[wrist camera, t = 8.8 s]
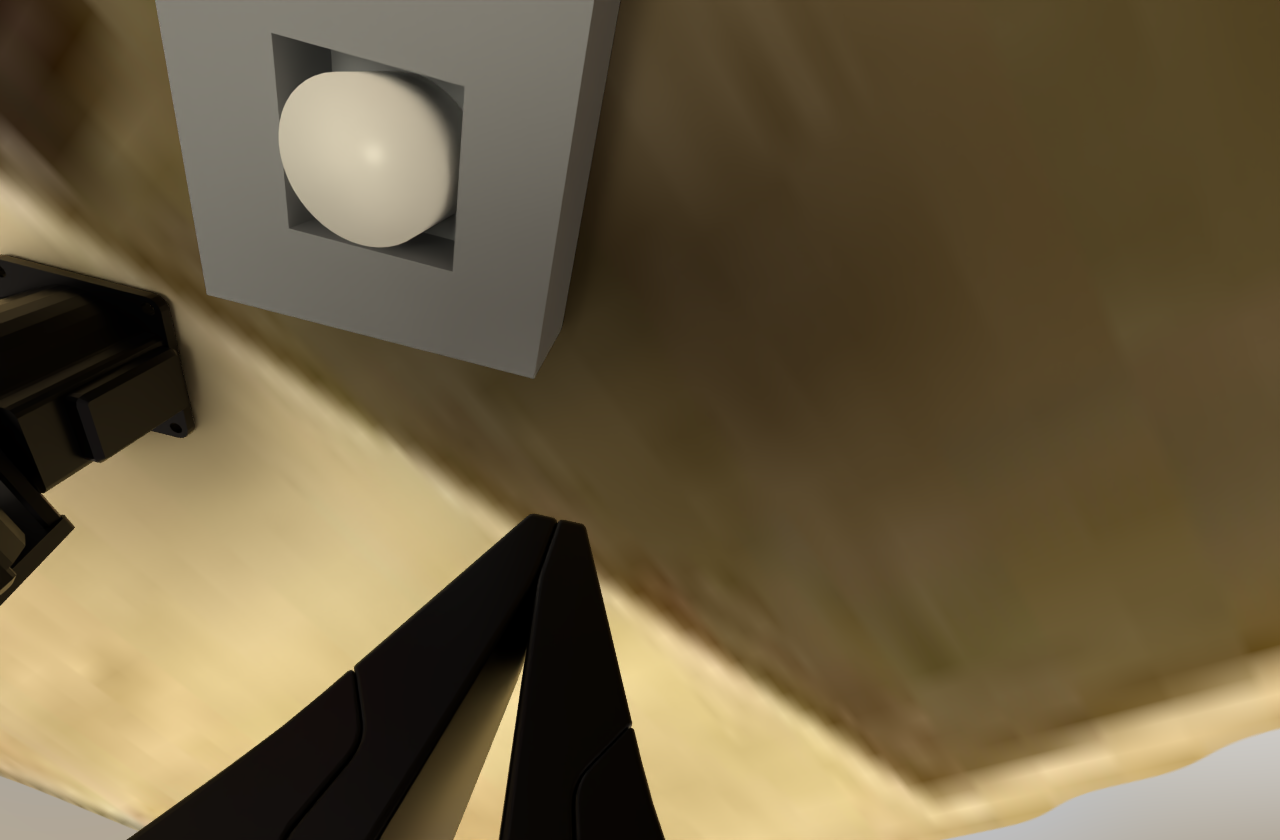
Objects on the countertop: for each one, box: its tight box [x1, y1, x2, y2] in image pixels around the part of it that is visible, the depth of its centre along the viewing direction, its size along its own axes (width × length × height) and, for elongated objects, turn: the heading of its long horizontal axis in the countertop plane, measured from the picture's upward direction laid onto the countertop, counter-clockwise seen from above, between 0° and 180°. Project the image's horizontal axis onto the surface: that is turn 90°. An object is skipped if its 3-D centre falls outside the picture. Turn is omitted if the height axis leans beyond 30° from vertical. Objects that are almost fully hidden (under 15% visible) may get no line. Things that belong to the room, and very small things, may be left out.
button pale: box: [278, 71, 463, 247], centre depth 16 cm, size 4×4×3 cm
